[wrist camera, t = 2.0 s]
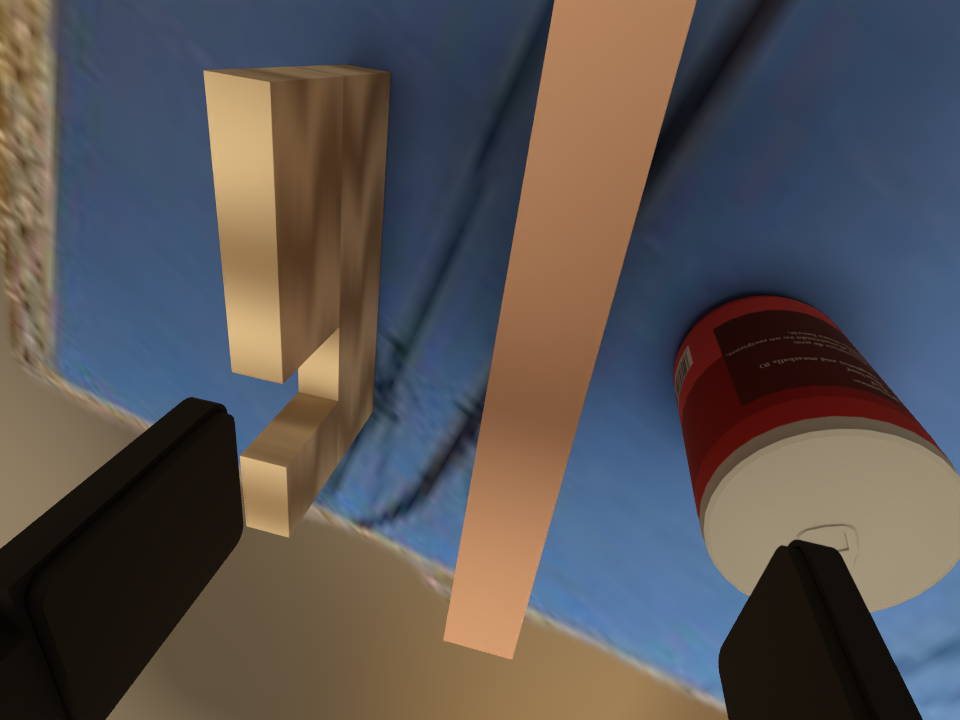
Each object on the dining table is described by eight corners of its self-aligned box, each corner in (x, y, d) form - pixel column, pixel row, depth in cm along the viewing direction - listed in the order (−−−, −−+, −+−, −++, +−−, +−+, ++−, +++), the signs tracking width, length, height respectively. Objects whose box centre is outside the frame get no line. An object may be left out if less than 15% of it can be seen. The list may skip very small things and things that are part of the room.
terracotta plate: (520, 369, 30) (443, 640, 16) (592, 19, 22) (561, -37, 8) (557, 377, 30) (511, 659, 16) (643, 28, 22) (701, -17, 8)
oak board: (346, 64, 24) (203, 70, 16) (390, 72, 24) (269, 82, 16) (340, 404, 33) (246, 526, 25) (372, 412, 33) (289, 537, 25)
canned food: (719, 456, 30) (770, 642, 20) (639, 342, 28) (654, 491, 18) (874, 392, 27) (1020, 578, 17) (796, 257, 25) (914, 384, 15)
